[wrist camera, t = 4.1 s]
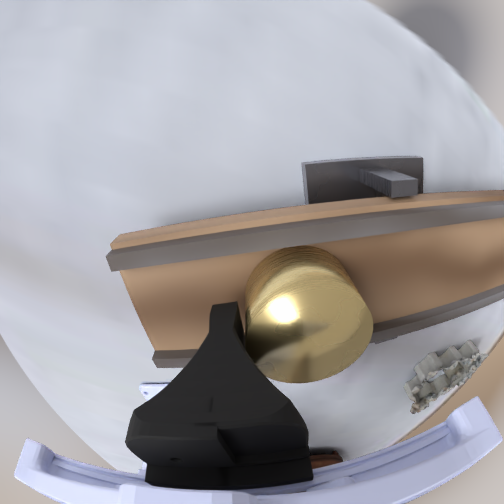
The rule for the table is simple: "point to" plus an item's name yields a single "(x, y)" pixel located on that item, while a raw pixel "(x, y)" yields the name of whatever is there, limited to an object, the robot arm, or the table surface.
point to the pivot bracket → (362, 179)
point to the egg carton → (453, 365)
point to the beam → (332, 240)
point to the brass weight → (304, 316)
